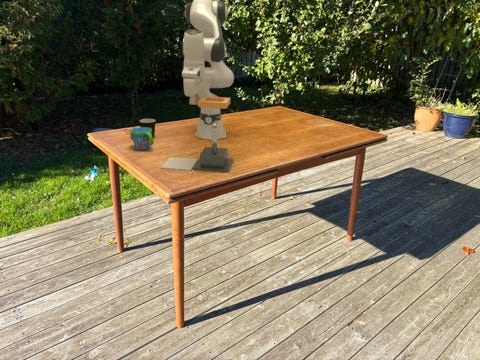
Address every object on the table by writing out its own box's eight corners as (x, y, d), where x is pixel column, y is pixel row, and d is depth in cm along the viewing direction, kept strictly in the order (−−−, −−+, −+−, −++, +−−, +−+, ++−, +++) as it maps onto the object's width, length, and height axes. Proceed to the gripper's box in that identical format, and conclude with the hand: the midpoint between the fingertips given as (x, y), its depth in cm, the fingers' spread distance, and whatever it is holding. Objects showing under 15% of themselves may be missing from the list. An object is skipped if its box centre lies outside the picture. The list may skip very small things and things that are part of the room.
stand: (201, 158, 182) (201, 118, 175) (233, 160, 181) (234, 120, 173) (193, 170, 168) (192, 127, 160) (228, 172, 166) (229, 129, 158)
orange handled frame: (193, 100, 170) (193, 95, 169) (230, 103, 168) (230, 97, 167) (186, 106, 159) (186, 100, 158) (226, 108, 157) (226, 103, 156)
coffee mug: (158, 136, 214) (157, 119, 210) (153, 140, 207) (152, 123, 203) (138, 135, 215) (137, 118, 211) (133, 139, 207) (132, 121, 204)
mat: (169, 158, 181) (169, 157, 181) (197, 160, 180) (197, 159, 180) (160, 168, 168) (160, 167, 168) (190, 170, 167) (190, 169, 167)
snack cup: (125, 147, 194) (123, 128, 190) (142, 143, 201) (141, 124, 197) (142, 154, 185) (140, 134, 181) (159, 150, 192) (158, 131, 188)
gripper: (192, 67, 168) (193, 98, 174) (180, 73, 150) (181, 107, 155) (206, 68, 168) (206, 99, 173) (196, 74, 149) (196, 108, 154)
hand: (194, 103), depth 164 cm, fingers closed on orange handled frame, 3 cm apart
